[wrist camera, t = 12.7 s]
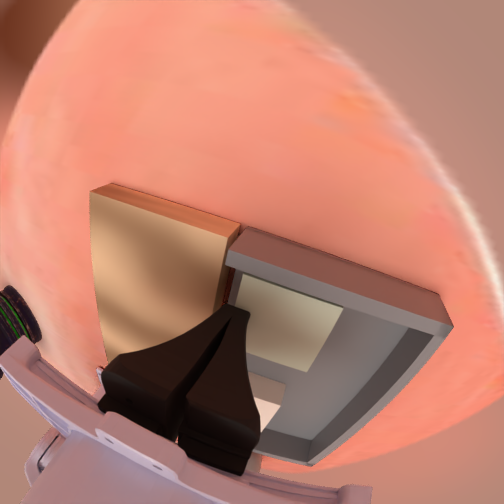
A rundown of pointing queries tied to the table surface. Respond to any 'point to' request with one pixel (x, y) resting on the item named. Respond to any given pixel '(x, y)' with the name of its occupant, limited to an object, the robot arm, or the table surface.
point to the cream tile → (266, 396)
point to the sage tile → (285, 322)
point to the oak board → (154, 267)
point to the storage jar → (15, 320)
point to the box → (338, 344)
